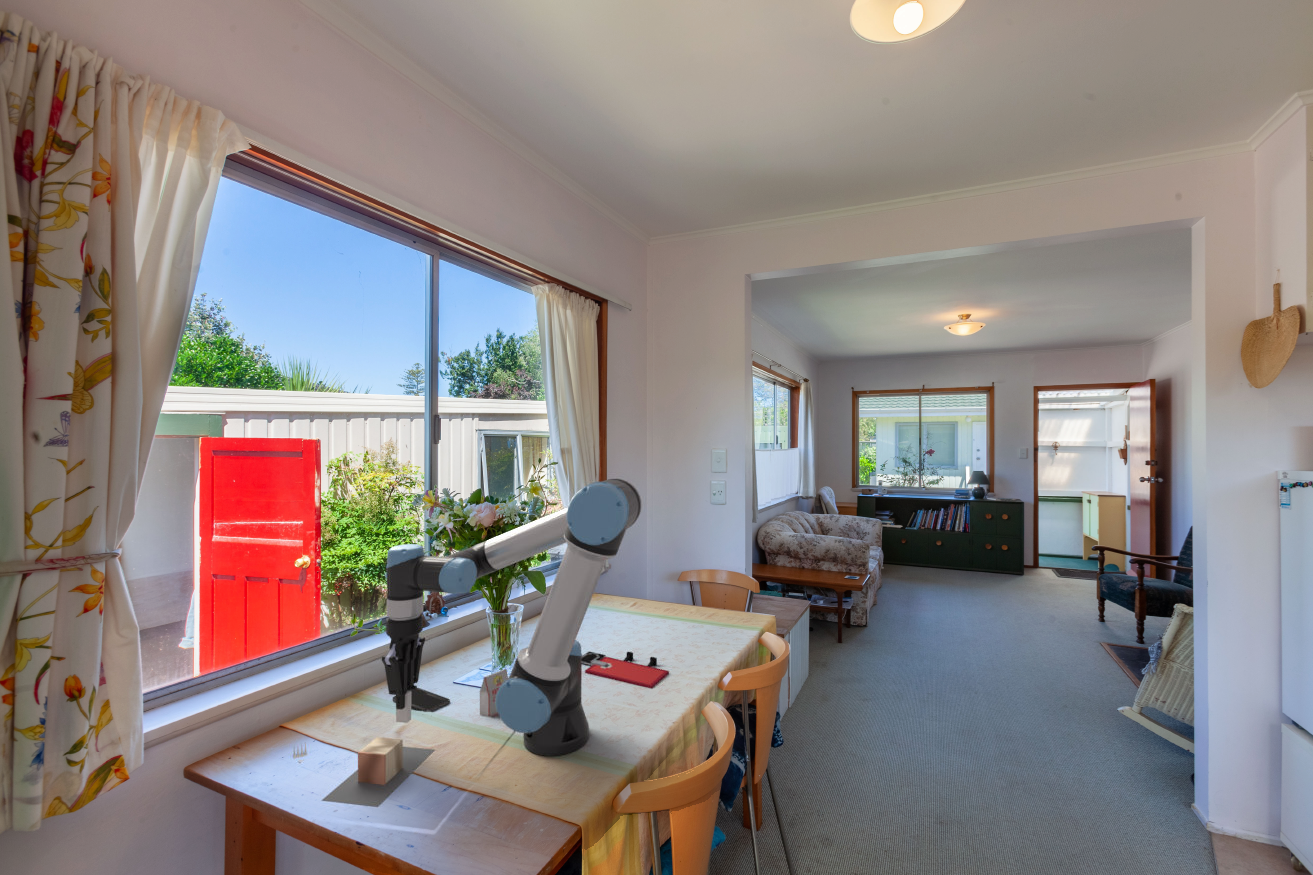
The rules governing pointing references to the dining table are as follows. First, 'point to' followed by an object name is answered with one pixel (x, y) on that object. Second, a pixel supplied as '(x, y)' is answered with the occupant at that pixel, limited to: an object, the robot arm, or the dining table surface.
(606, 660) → the red board with handle
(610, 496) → the robot arm
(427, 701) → the phone
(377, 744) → the cube
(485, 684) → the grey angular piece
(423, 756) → the mat
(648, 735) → the dining table surface
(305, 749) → the fork
